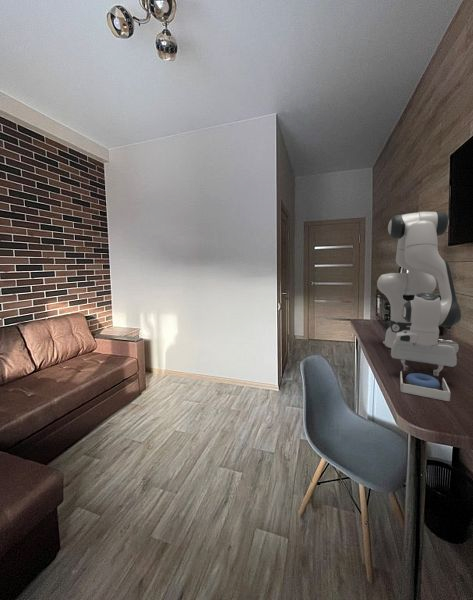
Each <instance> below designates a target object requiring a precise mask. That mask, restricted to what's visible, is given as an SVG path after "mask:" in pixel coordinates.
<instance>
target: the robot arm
mask: <svg viewBox="0 0 473 600" xmlns="http://www.w3.org/2000/svg"><path fill="white" fill-rule="evenodd" d="M449 220H450V219H449V214H447V213H446V212H445V211H439V210H436V211H418V212H410V213H405V214H396V215H393V216H391V218H390V221H389V222H388V226H387V232H388V234H389V236H390V237H391V238H392V239H397V247H396V254H395V263H396V265H398V266H399V267H401V268H402V269H405V270H407V271H408V272H389V273H383V274H381V275H380V276H379V277H378V279H377V282H376V286H377V289H378V291H379V292H381V294H383V295H384V296H385V298H387V299H388V302H389V305H390V306H389V307H390V319H389V321H388V328H387V329H386V332H385V337H384V340H383V341H382V344H384V346H385V347H386V348H389V349H390V357H391V358H392V359H397V360H400V363H401V364H402V366H403V371H404V372H409V365H406V361H409V362H411V361H412V362H417V363H423V364H425V363H426V364H431V365H436V366H437V369H433V370H432V371H433V373H432V375H433V377H434V376H435V377H439V376H440V373H441V371H442V370H443V369H444V367H445V366H446V367H451V368H452V367H453V368H454V367H456V366H457V362H458V360H457V353H458V352H459V348H460V346H459V344H458V343H457V342H456V341H454V340H451V339H442V338H439V336H440V329H439V327H443V328H451V327H454V326H456V325H457V324H458V323H459V322H460V321H461V319H462V318H461V317H462V316H461V315H462V313H461V312H462V311H461V307H460V304H459V302H458V299H457V296H456V290H455V285H454V281H453V276H452V271H451V267H450V265H449V262H448V261H447V260H446V259H443V258H442V256H441V255H440V253H439V249H438V245H439V244H438V243H439V241H438V237H439V236H442V235H443V234H445V233H446V231H447V230H448V227H449V224H450V221H449ZM437 285H438V290H439V294H440V296H439V295H438V294H435V293H434V291H435V290H436V288H437ZM404 295H407V296H408V295H410V296H414V297H413V299H412V300H406V299H404V297H403V296H404Z"/></svg>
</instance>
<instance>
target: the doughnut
mask: <svg viewBox="0 0 473 600" xmlns="http://www.w3.org/2000/svg"><path fill="white" fill-rule="evenodd" d="M405 384H409V385H415V386H420V387H425V388H431V389H436V390H440V386H441V383H440V382H439V379H438V378H436V377H434V376H432V375H429V374H425V373H420V372H412V373H408V374H407V375H406V377H405Z"/></svg>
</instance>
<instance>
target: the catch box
mask: <svg viewBox="0 0 473 600" xmlns="http://www.w3.org/2000/svg"><path fill="white" fill-rule="evenodd" d="M399 374H400V375H399V382H400V383H399V385H400V393H405V394H410V395H415V396H420V397H424V398H428V399H429V398H430V399H434V400H441V401H444V402H449V403H450V400H451V391H450V387H449V386H448V384H447V381H446V380H445V378H444V377H442V380H441V381H442V382H441V388H442V390H440V389H438V390H436V389H431V388H425V387H420V386H415V385H409V384H407V383H404V382H403V381H404V380H403V371H402V370H400V373H399Z"/></svg>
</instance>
